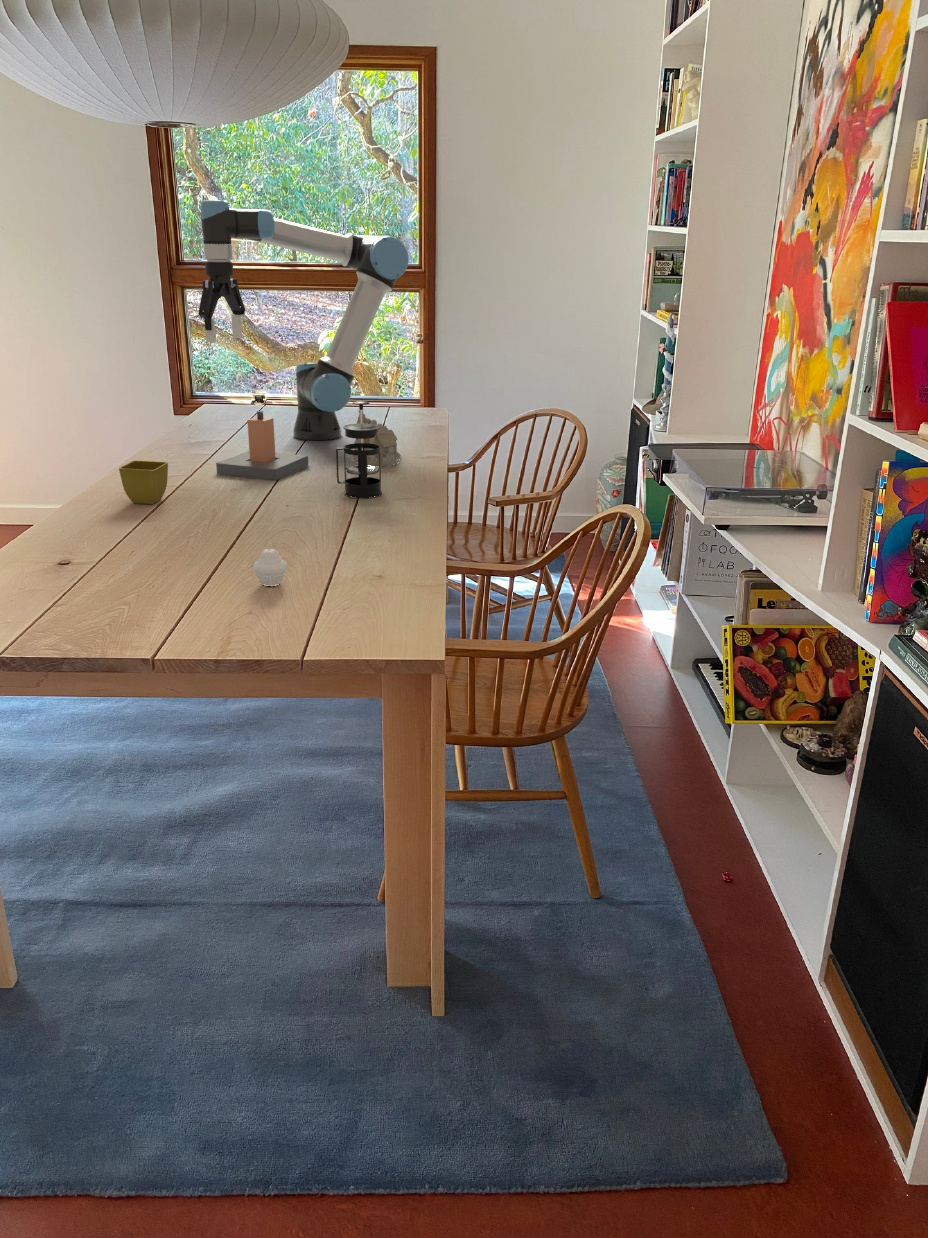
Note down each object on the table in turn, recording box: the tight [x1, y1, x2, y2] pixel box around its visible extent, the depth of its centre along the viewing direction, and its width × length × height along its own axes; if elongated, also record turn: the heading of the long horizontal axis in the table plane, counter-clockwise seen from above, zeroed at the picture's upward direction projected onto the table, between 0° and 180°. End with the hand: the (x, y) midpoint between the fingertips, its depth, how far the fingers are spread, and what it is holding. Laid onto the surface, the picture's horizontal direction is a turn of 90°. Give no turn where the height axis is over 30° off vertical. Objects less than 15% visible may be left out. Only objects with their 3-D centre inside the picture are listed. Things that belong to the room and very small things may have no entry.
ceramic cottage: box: [352, 409, 402, 467], centre depth 271 cm, size 16×16×15 cm
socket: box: [215, 451, 309, 481], centre depth 258 cm, size 18×18×3 cm
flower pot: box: [118, 460, 169, 505], centre depth 225 cm, size 9×9×9 cm
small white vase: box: [252, 548, 288, 585], centre depth 173 cm, size 6×6×7 cm
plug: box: [247, 410, 276, 463], centre depth 256 cm, size 5×5×16 cm
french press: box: [335, 400, 383, 499], centre depth 233 cm, size 12×9×23 cm
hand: (224, 340), depth 269 cm, fingers open, 13 cm apart
